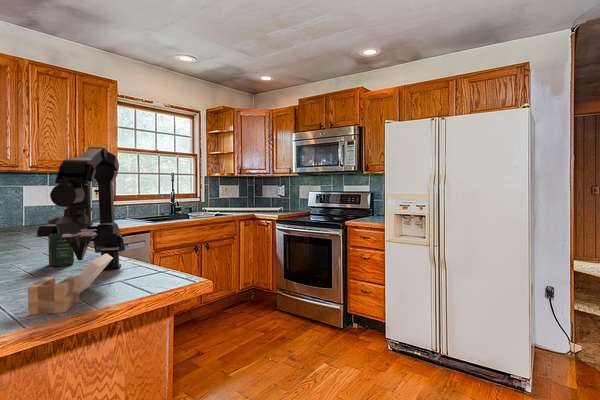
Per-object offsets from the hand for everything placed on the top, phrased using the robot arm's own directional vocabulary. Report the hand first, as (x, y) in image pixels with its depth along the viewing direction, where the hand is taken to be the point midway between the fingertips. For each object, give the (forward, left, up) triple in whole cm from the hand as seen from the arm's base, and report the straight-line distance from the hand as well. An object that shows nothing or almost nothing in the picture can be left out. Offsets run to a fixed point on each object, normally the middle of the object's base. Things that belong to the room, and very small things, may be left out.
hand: (80, 260), depth 97 cm
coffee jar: (-43, -14, -9) cm, 46 cm away
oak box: (+12, -3, -9) cm, 15 cm away
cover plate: (+1, -1, -8) cm, 8 cm away
